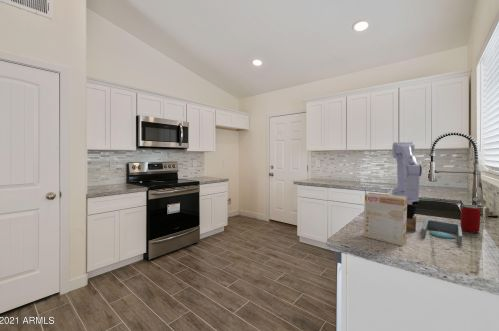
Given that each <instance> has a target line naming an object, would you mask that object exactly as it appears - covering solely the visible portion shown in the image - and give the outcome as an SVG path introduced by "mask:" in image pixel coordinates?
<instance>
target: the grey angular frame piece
mask: <svg viewBox="0 0 499 331" xmlns="http://www.w3.org/2000/svg"><path fill="white" fill-rule="evenodd" d="M429 229H431V230H432V229H433V230H439V231H442V232H444V231H445V232H450V233H455V234H457V242H458V246H462V245H463V232H462V231H463V229H461V223H454V222H446V221H440V220H433V219H427V218H426V220H425V222H424V223H423V227H422V231H421V232H422V236H421V237H422V239H426V236H427V234H428V230H429Z"/></svg>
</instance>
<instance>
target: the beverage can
mask: <svg viewBox="0 0 499 331" xmlns="http://www.w3.org/2000/svg"><path fill="white" fill-rule="evenodd" d="M481 211H482V210H481V209H480V207H479V206H476V205H469V204H467V205H465V204H463V207H461V211H460V225H461V230H462V231H464V232H468V233H475V234H476V233H478V232H480V227H481V213H482V212H481Z"/></svg>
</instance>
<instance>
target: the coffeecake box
mask: <svg viewBox="0 0 499 331" xmlns="http://www.w3.org/2000/svg"><path fill="white" fill-rule="evenodd" d="M363 209H364V216H363V218H364V219H363V237H364V238H369V239H372V240H377V241H381V242H384V243H385V242H386V243H389V244H392V245H398V246H401V247H402V246H403V245H404V244H405V243H406V240H407V237H406V236H407V230H406V219H407V197H405V196H395V195H392V194H386V193H385V194H384V193H377V192H376V193H375V192H368V193H365V194H364V208H363Z"/></svg>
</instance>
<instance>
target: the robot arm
mask: <svg viewBox="0 0 499 331" xmlns="http://www.w3.org/2000/svg"><path fill="white" fill-rule="evenodd" d="M391 146H392V153H391V154H392V158H394V159H396V172H397V174H396V176H397V177H396V178H397V186H396V187H395V188H393V189H392V190H391V195H395V196H405V197H407V218H409V219H412V218H413V216H416V215H415V214H416V212H417V208H418V205H419V204H420V178H421V176H422V173H423V167H422V165H421V164H420V163H418V161H417V159H416V157H415V156H414V155H413V154H414V151H415V142H413V141H411V142H409V141H407V142H406V141H405V142H401V141H399V142H395V141H394V142H393V143H392V145H391Z"/></svg>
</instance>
